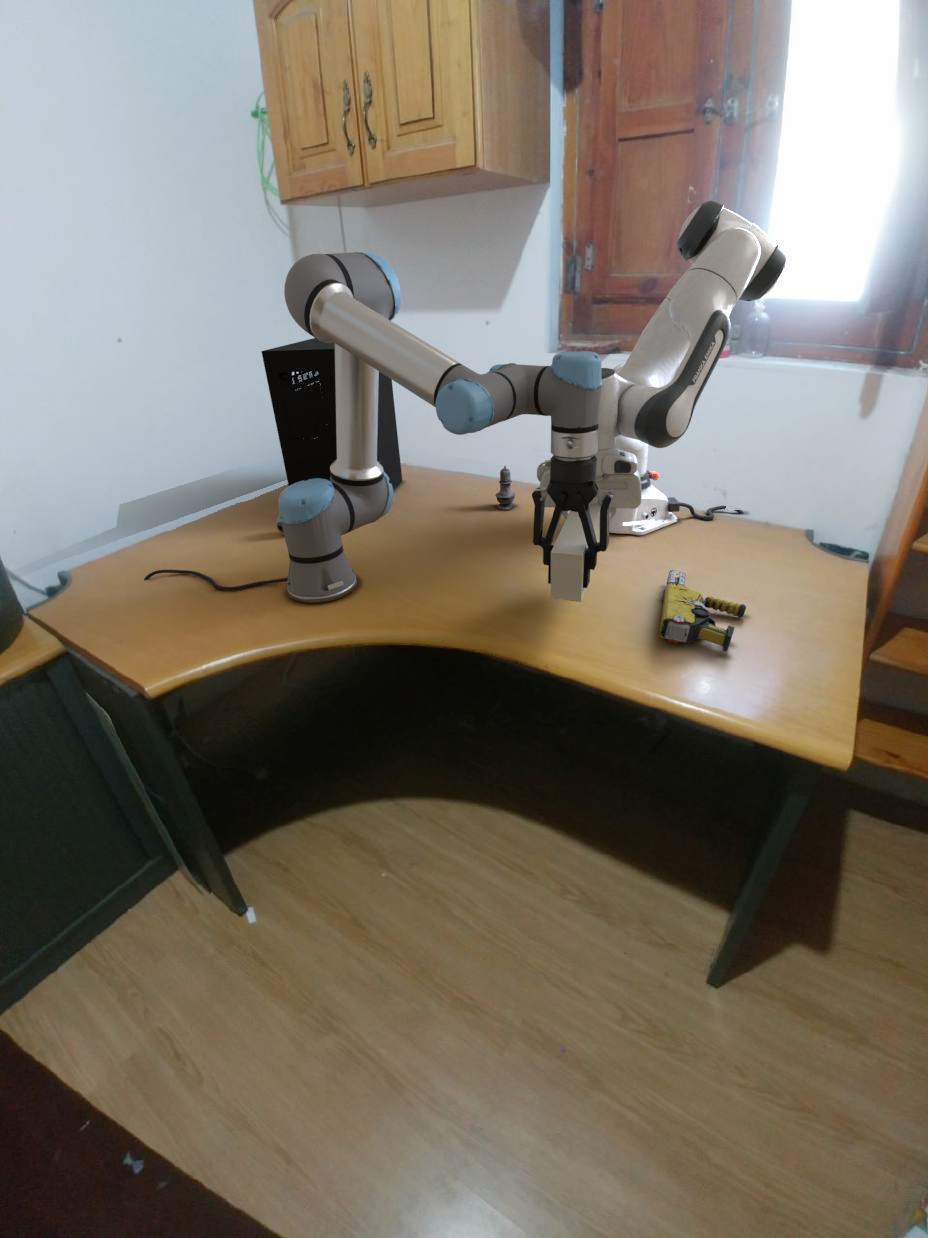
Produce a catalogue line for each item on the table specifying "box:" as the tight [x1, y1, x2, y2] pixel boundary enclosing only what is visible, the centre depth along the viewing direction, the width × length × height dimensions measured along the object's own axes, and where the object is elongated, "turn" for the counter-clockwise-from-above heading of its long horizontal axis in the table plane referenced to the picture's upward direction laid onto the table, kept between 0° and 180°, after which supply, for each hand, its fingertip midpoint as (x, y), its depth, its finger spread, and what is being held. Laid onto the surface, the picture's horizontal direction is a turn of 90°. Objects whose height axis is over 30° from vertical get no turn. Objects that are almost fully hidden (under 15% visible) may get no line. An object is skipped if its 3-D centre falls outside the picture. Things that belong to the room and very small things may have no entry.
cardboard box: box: [260, 337, 403, 491], centre depth 177 cm, size 38×20×45 cm, turn 167°
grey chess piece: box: [495, 465, 517, 511], centre depth 172 cm, size 6×6×12 cm
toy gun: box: [659, 569, 747, 652], centre depth 114 cm, size 5×24×15 cm
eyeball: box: [275, 515, 284, 535], centre depth 163 cm, size 6×6×6 cm
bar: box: [550, 506, 601, 603], centre depth 116 cm, size 25×6×10 cm, turn 160°
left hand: (568, 582), depth 110 cm, fingers closed on bar, 6 cm apart
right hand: (587, 526), depth 124 cm, fingers closed on bar, 6 cm apart
